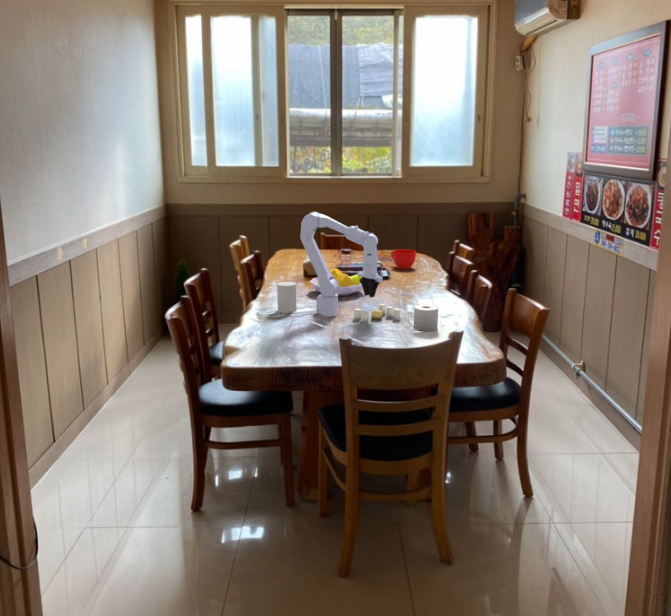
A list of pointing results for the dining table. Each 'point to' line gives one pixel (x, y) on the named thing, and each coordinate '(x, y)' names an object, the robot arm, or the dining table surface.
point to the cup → (286, 297)
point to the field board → (375, 322)
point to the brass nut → (376, 315)
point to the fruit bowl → (341, 282)
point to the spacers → (382, 307)
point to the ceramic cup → (403, 258)
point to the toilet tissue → (426, 317)
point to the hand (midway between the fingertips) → (369, 296)
